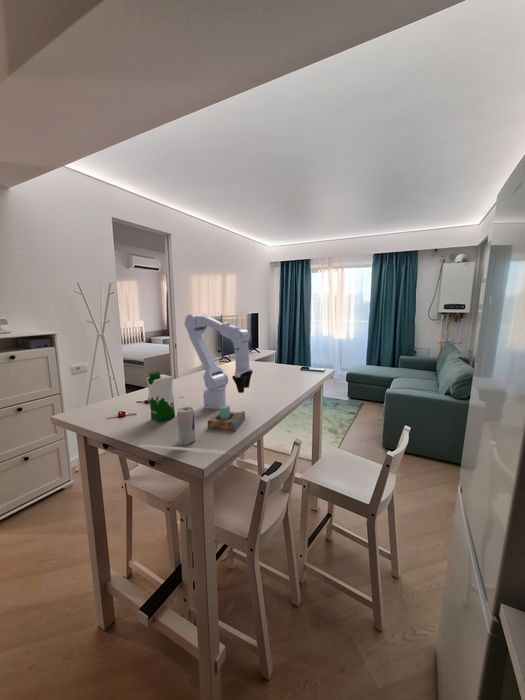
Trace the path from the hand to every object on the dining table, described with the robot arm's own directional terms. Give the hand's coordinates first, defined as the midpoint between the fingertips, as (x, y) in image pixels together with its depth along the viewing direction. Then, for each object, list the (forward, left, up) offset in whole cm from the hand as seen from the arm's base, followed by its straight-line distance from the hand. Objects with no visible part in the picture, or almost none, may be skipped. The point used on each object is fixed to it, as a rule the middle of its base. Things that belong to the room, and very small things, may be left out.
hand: (243, 390), depth 127 cm
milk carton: (-32, -11, -11) cm, 36 cm away
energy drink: (-11, -30, -11) cm, 34 cm away
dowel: (-4, -14, -10) cm, 18 cm away
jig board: (-7, -14, -10) cm, 19 cm away
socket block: (-4, -14, -10) cm, 17 cm away
